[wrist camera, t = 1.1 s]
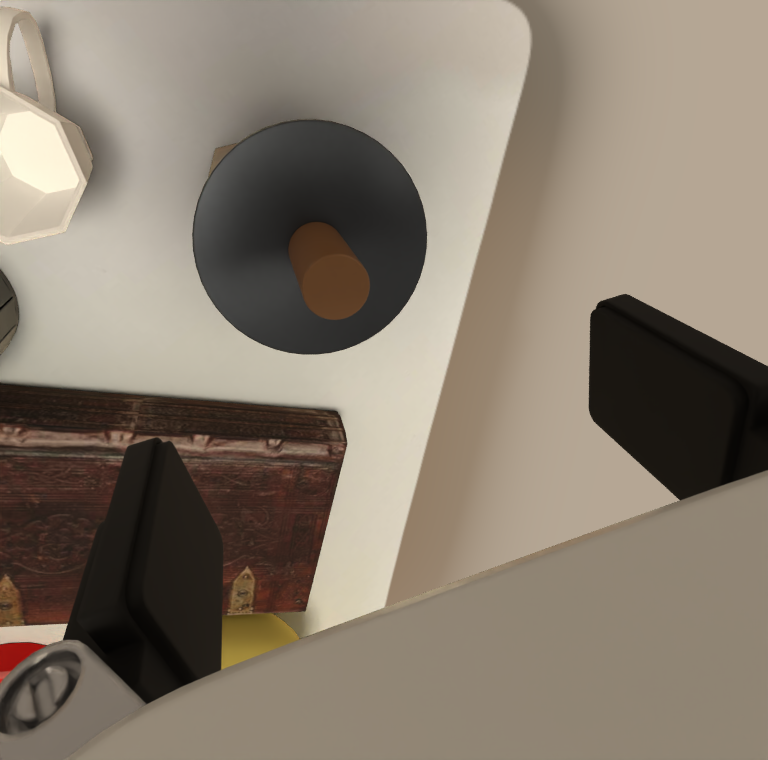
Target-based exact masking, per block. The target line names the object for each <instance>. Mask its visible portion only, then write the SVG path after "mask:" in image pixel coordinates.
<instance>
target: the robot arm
mask: <svg viewBox="0 0 768 760" xmlns="http://www.w3.org/2000/svg"><path fill="white" fill-rule="evenodd" d="M589 411H590V415H591V417H592V419H593V421H594V422H595V423H596V424H597V425H598V426H599V427H600V428H602V429H603V430H604V431H605V432H606V433H607V434H608V435H609V436H610V437H611V438H613V439H614V440H615V441H616V442H617V443H618V444H619V445H620V446H621V447H622V448H623V449H624V450H626V451H627V452H628V453H629V454H630V455H631V456H632V457H633V458H634V459H636V460H637V461H638V462H639V463H640V464H641V465H642V466H643V467H644V468H645V469H647V471H649V472H650V473H651V474H652V475H653V476H654V477H655V478H656V479H657V480H658V481H660V482H661V483H662V484H663V485H664V486H665V487H666V488H667V489H668V490H669V491H670V492H672V493H673V494H674V495H675V496H676V497H677V498H678V499H679V500H680V501H677V502H675V503H672V504H669V505H666V506H664V507H661V508H658V509H655V510H652V511H650V512H647V513H644V514H641V515H638V516H635V517H633V518H630V519H627V520H624V521H621V522H619V523H616V524H613V525H610V526H607V527H605V528H602V529H599V530H596V531H593V532H591V533H588V534H585V535H582V536H580V537H577V538H574V539H571V540H569V541H566V542H563V543H560V544H557V545H555V546H552V547H549V548H546V549H544V550H541V551H538V552H535V553H533V554H530V555H527V556H524V557H522V558H519V559H516V560H513V561H511V562H508V563H505V564H503V565H500V566H497V567H494V568H491V569H489V570H486V571H483V572H480V573H478V574H475V575H472V576H469V577H467V578H464V579H461V580H458V581H456V582H453V583H450V584H447V585H445V586H442V587H439V588H437V589H434V590H431V591H428V592H426V593H423V594H421V595H418V596H415V597H412V598H410V599H407V600H404V601H401V602H399V603H396V604H393V605H391V606H388V607H385V608H382V609H380V610H377V611H374V612H372V613H369V614H366V615H363V616H361V617H358V618H355V619H353V620H350V621H347V622H345V623H342V624H339V625H336V626H334V627H331V628H328V629H326V630H323V631H320V632H317V633H315V634H312V635H310V636H307V637H304V638H302V639H299V640H297V641H294V642H292V643H289V644H286V645H284V646H281V647H279V648H276V649H273V650H271V651H268V652H266V653H263V654H261V655H258V656H255V657H253V658H250V659H248V660H245V661H242V662H240V663H237V664H235V665H232V666H230V667H227V668H225V669H222V670H221V663H222V604H223V541H222V537H221V534H220V531H219V529H218V527H217V525H216V523H215V521H214V519H213V518H212V516H211V514H210V512H209V510H208V508H207V506H206V504H205V502H204V501H203V499H202V497H201V495H200V493H199V491H198V489H197V487H196V485H195V484H194V482H193V480H192V478H191V476H190V474H189V472H188V470H187V468H186V467H185V465H184V463H183V461H182V459H181V457H180V455H179V453H178V451H177V450H176V448H175V446H174V444H173V443H172V442H171V441H166V442H163V441H162V440H161V439H160V438H158V437H155V438H152V439H148V440H145V441H142V442H139V443H135V444H132V445H129V446H128V447H127V449H126V451H125V455H124V458H123V461H122V465H121V468H120V472H119V475H118V479H117V482H116V485H115V489H114V492H113V496H112V499H111V502H110V506H109V509H108V513H107V516H106V520H105V521H103V522H102V523H101V524H100V525H99V526H98V529H97V531H96V534H95V537H94V540H93V543H92V547H91V550H90V553H89V556H88V560H87V563H86V566H85V570H84V573H83V576H82V579H81V583H80V586H79V589H78V592H77V596H76V599H75V602H74V605H73V609H72V612H71V615H70V619H69V622H68V625H67V628H66V632H65V635H64V638H63V641H59V642H56V643H52V644H49V645H47V646H45V647H43V648H41V649H39V650H38V651H36V652H34V653H32V654H31V655H30V656H28V657H27V658H26V659H24V660H23V661H22V662H20V663H19V664H18V665H17V666H16V667H15V668H14V669H13V670H12V671H11V672H10V673H9V674H8V675H7V676H6V677H5V678H4V679H3V680H2V681H1V683H0V760H768V366H766V365H764V364H762V363H760V362H758V361H756V360H754V359H752V358H750V357H749V356H746V355H745V354H743V353H741V352H739V351H737V350H735V349H733V348H731V347H729V346H727V345H725V344H723V343H721V342H719V341H717V340H715V339H713V338H712V337H710V336H708V335H706V334H704V333H702V332H700V331H698V330H696V329H694V328H692V327H690V326H688V325H686V324H684V323H682V322H680V321H678V320H676V319H674V318H673V317H671V316H669V315H667V314H665V313H663V312H661V311H659V310H657V309H655V308H653V307H651V306H649V305H647V304H645V303H643V302H641V301H639V300H638V299H636V298H634V297H632V296H630V295H627V294H623V295H619V296H616V297H613V298H609V299H606V300H603V301H600V302H599V303H598V304H597V306H596V309H595V310H593V311H592V313H591V317H590V366H589Z"/></svg>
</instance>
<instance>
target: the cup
mask: <svg viewBox="0 0 768 760" xmlns="http://www.w3.org/2000/svg"><path fill="white" fill-rule="evenodd" d="M16 23H18V25H19V27H20V30H21V33H22V36H23V38H24V41H25V45H26V48H27V52H28V55H29V59H30V62H31V66H32V70H33V73H34V78H35V83H36V88H37V93H38V101H39V103H38V102H37V101H35V100H33V99H31V98H30V97H28V96H26V95H23V94H21V93H18V92H16V91H15V87H14V81H13V75H12V68H11V60H10V40H11V37H12V33H13V30H14V27H15V24H16ZM92 160H93V156H92V153H91V151H90V149H89V146H88V144H87V142H86V139H85V137H84V135H83V132H82V130H81V128H80V126H78V125H76V124H74V123H73V122H71V121H69V120H68V119H66V118H64V117H63V116H61V115H59V114H58V113H56V100H55V93H54V87H53V82H52V76H51V72H50V68H49V63H48V59H47V55H46V51H45V47H44V43H43V39H42V36H41V34H40V31H39V28H38V25H37V22H36V21H35V19H34V18H33V17H32V15H31V14H30V13H29V12H27V11H23V10H19V9H15V8H11V7H0V242H2V243H4V244H6V245H10V244H14V243H19V242H23V241H28V240H32V239H37V238H41V237H46V236H50V235H55V234H59V233H64V232H65V231H66V229H67V227H68V225H69V222H70V220H71V218H72V216H73V214H74V211H75V209H76V207H77V205H78V203H79V200H80V198H81V196H82V194H83V192H84V189H85V187H86V185H87V183H88V180H89V177H90V173H91V171H92V169H93V166H92V163H91V162H92Z"/></svg>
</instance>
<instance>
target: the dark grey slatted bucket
mask: <svg viewBox="0 0 768 760" xmlns="http://www.w3.org/2000/svg"><path fill="white" fill-rule="evenodd" d="M18 319H19V311H18V304H17V299H16V296H15V294H14V291H13V289H12V287H11V285H10V283H9V281H8V280H7V278H6V277H5V275H4V274H3V273H2V271H1V270H0V355H1V354H2V353H3V352H4V350H5V349H6V348H7V347H8V345H9V344H10V341H11V340H12V338H13V336H14V334H15V332H16V329H17V326H18Z"/></svg>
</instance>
